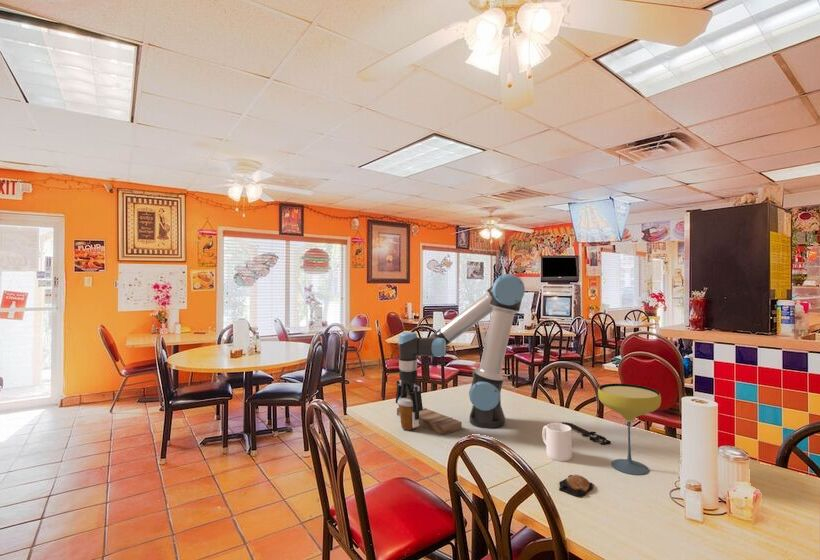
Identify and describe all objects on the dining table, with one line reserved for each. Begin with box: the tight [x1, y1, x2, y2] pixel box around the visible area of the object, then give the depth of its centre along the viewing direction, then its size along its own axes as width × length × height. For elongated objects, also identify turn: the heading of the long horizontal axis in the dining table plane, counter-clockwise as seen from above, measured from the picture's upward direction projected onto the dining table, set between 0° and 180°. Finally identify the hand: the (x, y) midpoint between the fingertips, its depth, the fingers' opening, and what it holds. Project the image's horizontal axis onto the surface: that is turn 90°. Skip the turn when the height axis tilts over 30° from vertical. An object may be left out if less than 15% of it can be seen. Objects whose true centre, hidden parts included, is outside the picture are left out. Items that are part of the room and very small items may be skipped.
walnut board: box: [396, 406, 463, 436], centre depth 180 cm, size 32×10×3 cm, turn 37°
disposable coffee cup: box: [397, 394, 417, 431], centre depth 172 cm, size 10×10×12 cm
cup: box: [541, 422, 573, 462], centre depth 144 cm, size 8×12×10 cm
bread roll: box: [558, 474, 595, 499], centre depth 122 cm, size 11×8×4 cm
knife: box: [561, 421, 612, 446], centre depth 164 cm, size 25×6×1 cm, turn 13°
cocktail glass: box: [597, 383, 662, 476], centre depth 134 cm, size 18×18×25 cm
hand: (409, 423), depth 172 cm, fingers closed on disposable coffee cup, 8 cm apart
